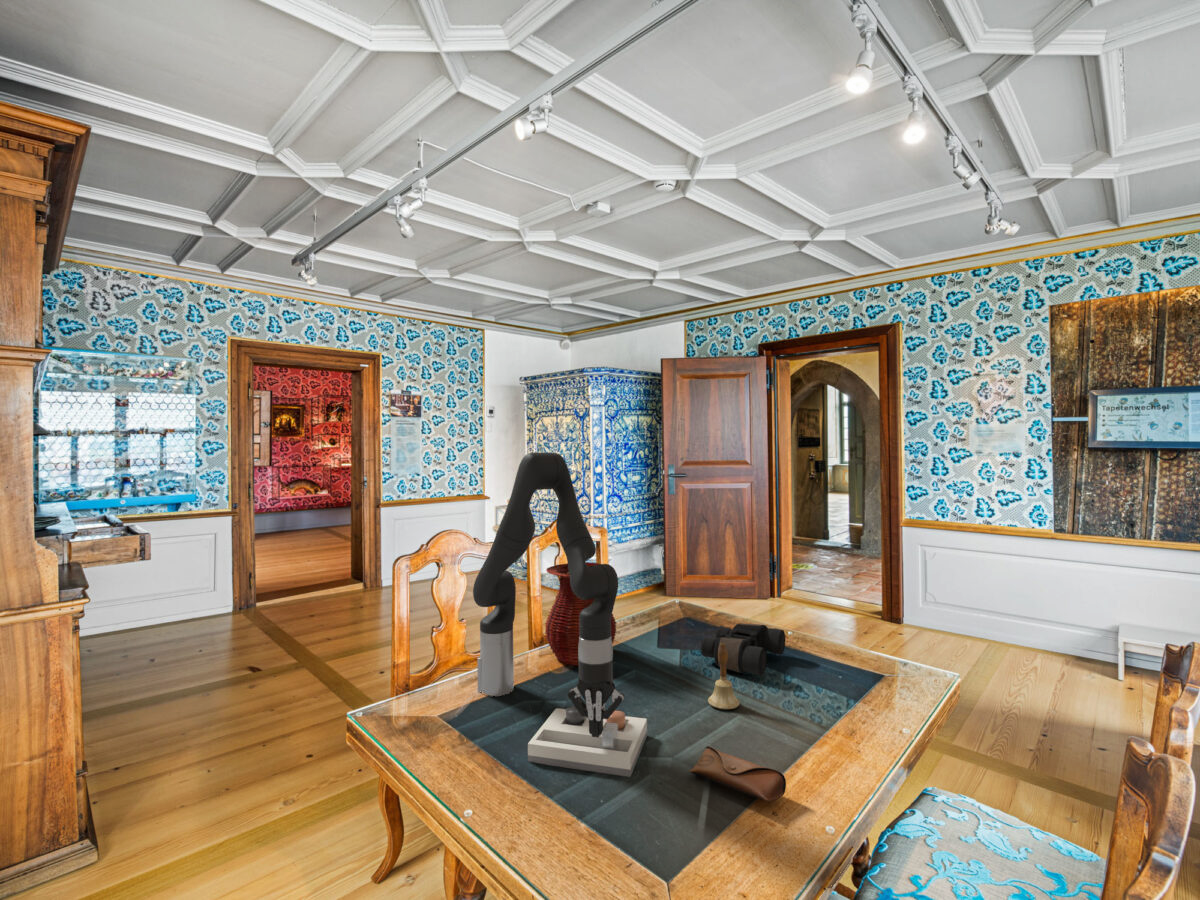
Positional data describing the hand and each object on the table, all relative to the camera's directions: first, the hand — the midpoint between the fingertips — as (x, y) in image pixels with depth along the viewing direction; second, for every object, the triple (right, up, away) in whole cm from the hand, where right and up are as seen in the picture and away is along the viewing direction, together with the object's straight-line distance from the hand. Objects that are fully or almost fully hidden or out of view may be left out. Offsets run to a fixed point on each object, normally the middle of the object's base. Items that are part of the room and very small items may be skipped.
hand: (596, 735), depth 125 cm
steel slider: (+3, -3, -1) cm, 5 cm away
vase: (-5, -6, +61) cm, 62 cm away
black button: (-5, -2, +11) cm, 12 cm away
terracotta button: (+5, -2, +8) cm, 10 cm away
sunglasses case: (+27, -6, -11) cm, 30 cm away
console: (-1, -6, +5) cm, 8 cm away
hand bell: (+34, -6, +28) cm, 45 cm away
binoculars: (+47, -6, +59) cm, 76 cm away
